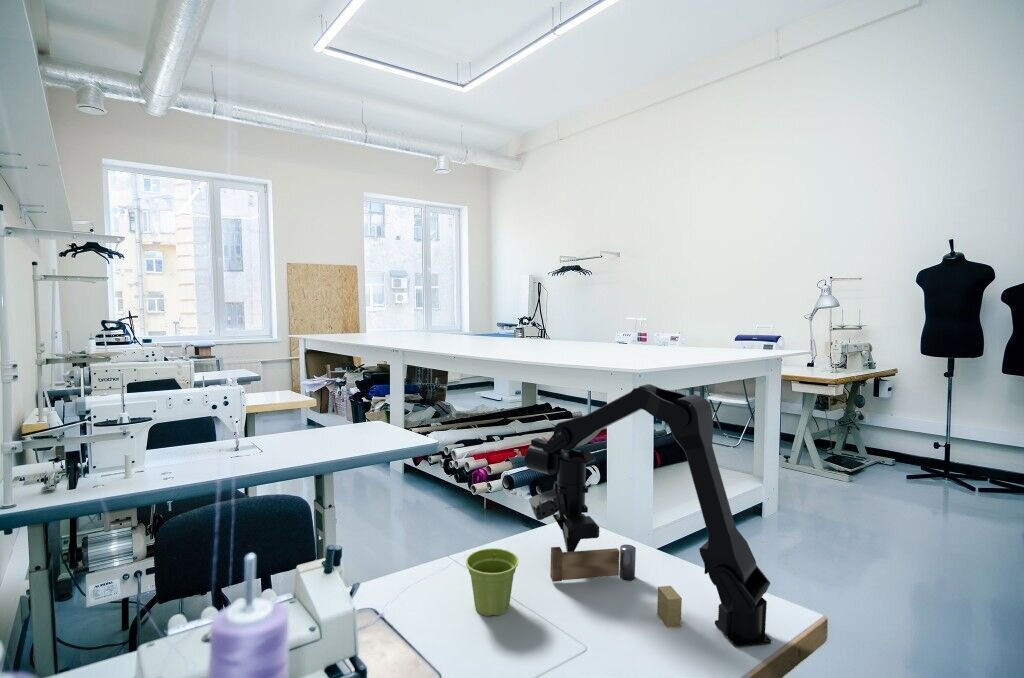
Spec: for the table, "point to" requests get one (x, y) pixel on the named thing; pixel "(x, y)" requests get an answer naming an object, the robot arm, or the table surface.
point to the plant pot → (492, 579)
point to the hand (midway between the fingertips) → (569, 553)
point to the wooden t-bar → (583, 564)
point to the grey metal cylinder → (627, 562)
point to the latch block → (669, 606)
